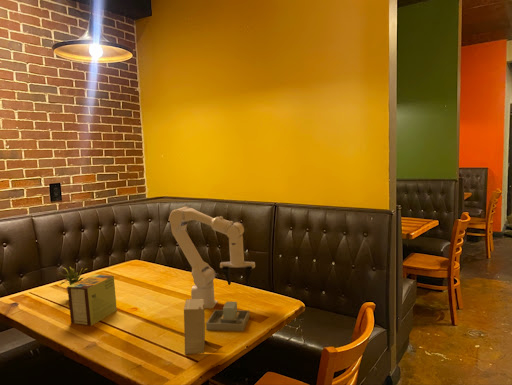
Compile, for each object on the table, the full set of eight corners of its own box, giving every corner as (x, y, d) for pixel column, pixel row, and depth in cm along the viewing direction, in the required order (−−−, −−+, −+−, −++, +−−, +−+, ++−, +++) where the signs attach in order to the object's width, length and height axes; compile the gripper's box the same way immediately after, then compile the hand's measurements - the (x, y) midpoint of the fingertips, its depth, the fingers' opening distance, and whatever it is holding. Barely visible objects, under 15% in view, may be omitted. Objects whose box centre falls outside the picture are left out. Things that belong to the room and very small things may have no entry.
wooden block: (220, 327, 139) (220, 318, 139) (224, 320, 145) (224, 311, 145) (236, 328, 138) (236, 319, 138) (240, 320, 144) (239, 312, 144)
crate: (206, 331, 138) (206, 323, 138) (215, 316, 150) (214, 309, 150) (243, 332, 136) (243, 324, 136) (249, 317, 148) (249, 310, 147)
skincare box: (186, 342, 130) (183, 298, 129) (207, 340, 131) (204, 297, 129) (184, 355, 122) (181, 309, 120) (206, 353, 123) (203, 307, 121)
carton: (223, 318, 139) (222, 308, 139) (227, 311, 145) (226, 301, 145) (233, 318, 139) (233, 308, 138) (237, 311, 144) (236, 301, 144)
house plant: (49, 303, 172) (45, 269, 171) (73, 292, 185) (70, 260, 183) (72, 307, 167) (68, 271, 165) (95, 295, 180) (92, 262, 178)
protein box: (117, 310, 161) (114, 275, 160) (91, 326, 147) (87, 288, 145) (97, 308, 165) (94, 273, 163) (70, 323, 150) (66, 286, 148)
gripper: (217, 255, 152) (219, 287, 154) (252, 254, 150) (254, 287, 151) (221, 250, 159) (223, 281, 161) (255, 250, 157) (256, 281, 158)
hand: (238, 284), depth 156 cm, fingers open, 7 cm apart
